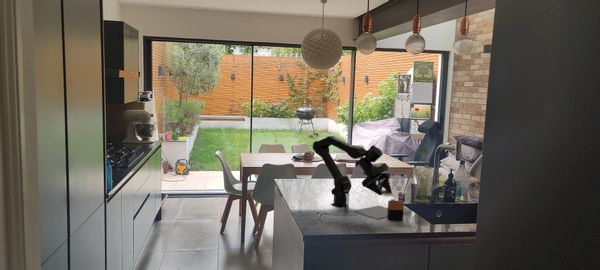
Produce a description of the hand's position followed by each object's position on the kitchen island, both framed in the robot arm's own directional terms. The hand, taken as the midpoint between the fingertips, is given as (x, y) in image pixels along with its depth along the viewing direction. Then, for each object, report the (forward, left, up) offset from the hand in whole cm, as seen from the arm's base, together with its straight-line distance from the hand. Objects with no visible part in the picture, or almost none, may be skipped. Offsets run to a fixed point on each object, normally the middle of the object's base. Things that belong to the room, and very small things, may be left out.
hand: (386, 193), depth 211 cm
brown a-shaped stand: (-36, +43, -12) cm, 58 cm away
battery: (+6, +1, -12) cm, 13 cm away
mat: (-7, +4, -12) cm, 15 cm away
